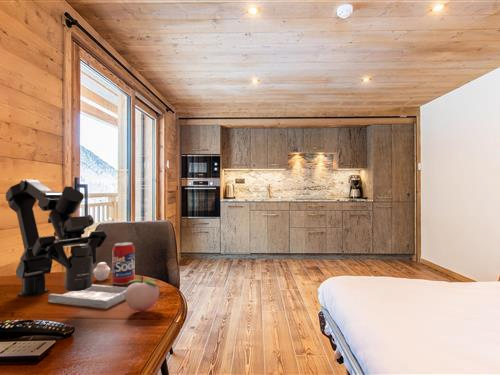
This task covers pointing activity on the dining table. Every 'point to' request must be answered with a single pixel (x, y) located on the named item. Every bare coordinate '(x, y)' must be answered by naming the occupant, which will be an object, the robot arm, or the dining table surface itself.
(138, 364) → the dining table surface
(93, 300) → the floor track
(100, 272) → the small white vase
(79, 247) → the supplement bottle
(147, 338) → the dining table surface
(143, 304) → the decorative fruit
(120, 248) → the soda can
